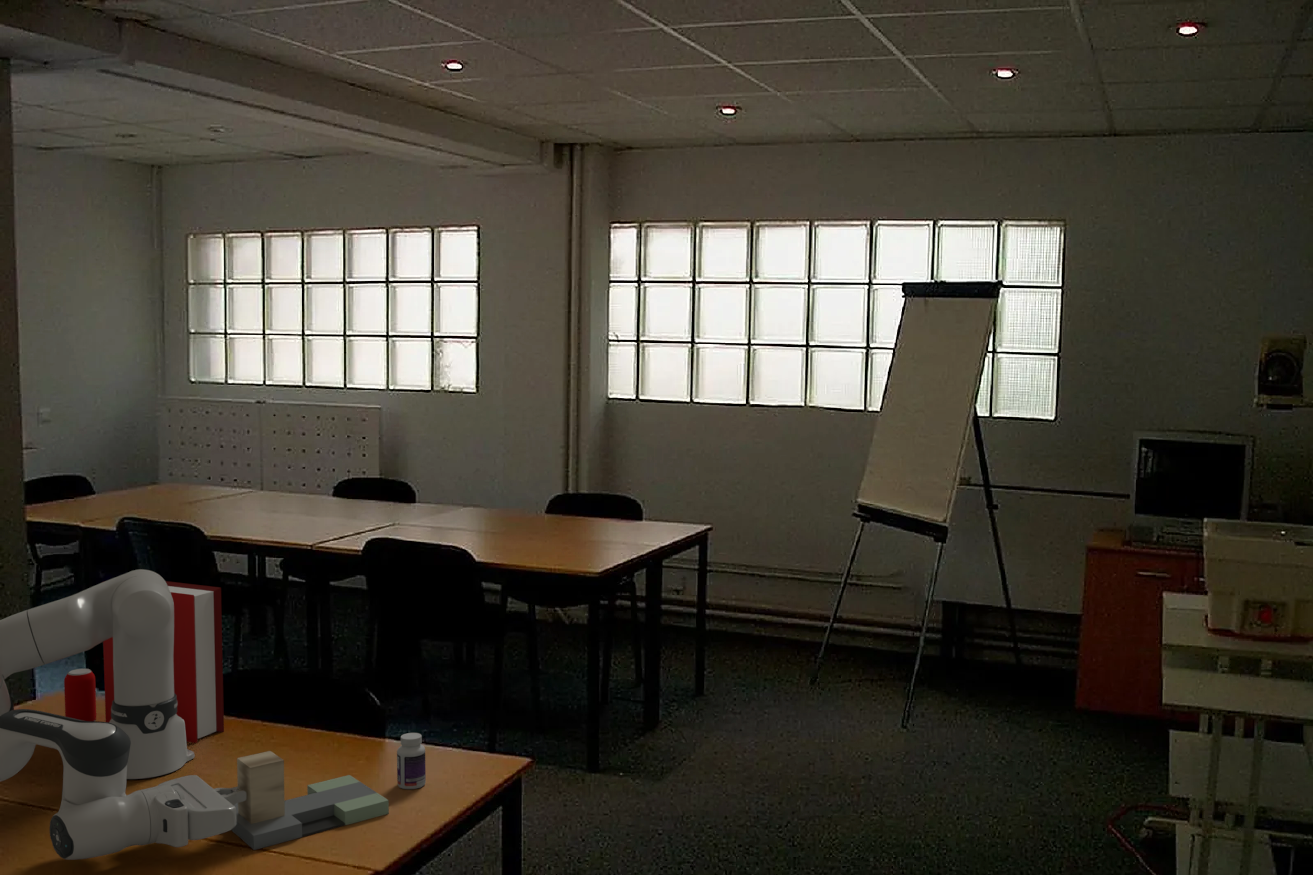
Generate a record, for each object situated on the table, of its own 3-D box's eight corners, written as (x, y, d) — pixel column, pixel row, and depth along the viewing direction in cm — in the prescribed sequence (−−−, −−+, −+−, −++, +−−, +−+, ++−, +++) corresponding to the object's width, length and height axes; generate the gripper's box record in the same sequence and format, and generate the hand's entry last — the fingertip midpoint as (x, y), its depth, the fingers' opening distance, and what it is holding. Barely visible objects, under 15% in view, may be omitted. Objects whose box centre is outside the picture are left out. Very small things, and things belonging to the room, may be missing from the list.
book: (223, 732, 262) (220, 587, 260) (196, 743, 255) (193, 594, 252) (129, 715, 273) (125, 576, 270) (101, 726, 265) (96, 583, 263)
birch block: (238, 813, 212) (237, 758, 211) (271, 805, 216) (270, 750, 215) (251, 824, 207) (250, 767, 207) (284, 815, 211) (283, 760, 210)
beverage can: (101, 724, 266) (99, 671, 265) (72, 730, 262) (70, 677, 261) (90, 718, 271) (88, 665, 270) (61, 724, 266) (59, 671, 265)
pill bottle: (431, 782, 234) (431, 733, 233) (414, 792, 229) (414, 742, 228) (408, 778, 236) (408, 729, 236) (391, 787, 232) (391, 738, 231)
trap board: (219, 820, 215) (219, 806, 215) (349, 787, 231) (349, 775, 231) (254, 850, 203) (253, 835, 203) (388, 813, 219) (388, 800, 219)
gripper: (142, 812, 208) (222, 793, 216) (181, 851, 192) (266, 829, 201) (140, 776, 207) (221, 759, 216) (180, 813, 191) (265, 792, 200)
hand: (243, 793), depth 208 cm, fingers closed
